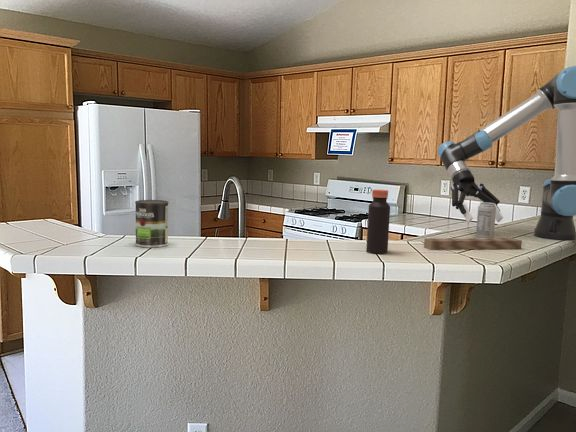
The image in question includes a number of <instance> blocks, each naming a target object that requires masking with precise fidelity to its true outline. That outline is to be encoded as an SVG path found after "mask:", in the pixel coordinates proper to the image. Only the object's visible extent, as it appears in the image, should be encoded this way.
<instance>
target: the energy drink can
mask: <svg viewBox="0 0 576 432" xmlns="http://www.w3.org/2000/svg"><path fill="white" fill-rule="evenodd" d="M494 204H495V203H490V202H483V201H482V202H481V201H480V202H479V205H478V207H477V215H476V216H477V217H476V228H475V229H476V230H475V238H495V237H494V235H495V225H496V224H495V223H496V219H495V215H496V207H495V205H494Z"/></svg>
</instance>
